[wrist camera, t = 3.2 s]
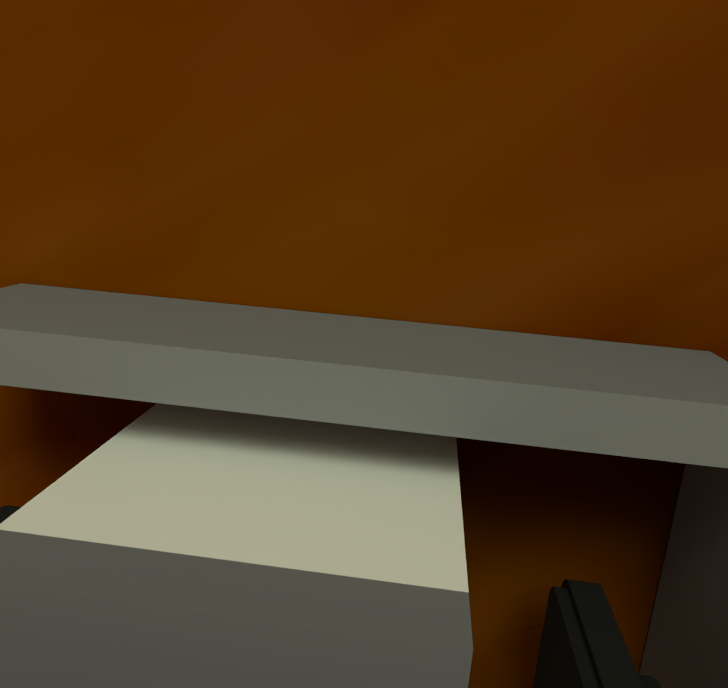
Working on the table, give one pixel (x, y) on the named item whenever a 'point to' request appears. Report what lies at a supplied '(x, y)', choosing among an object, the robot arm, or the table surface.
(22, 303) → the bay
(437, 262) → the table surface
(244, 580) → the grey box with knob
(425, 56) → the table surface
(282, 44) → the table surface
